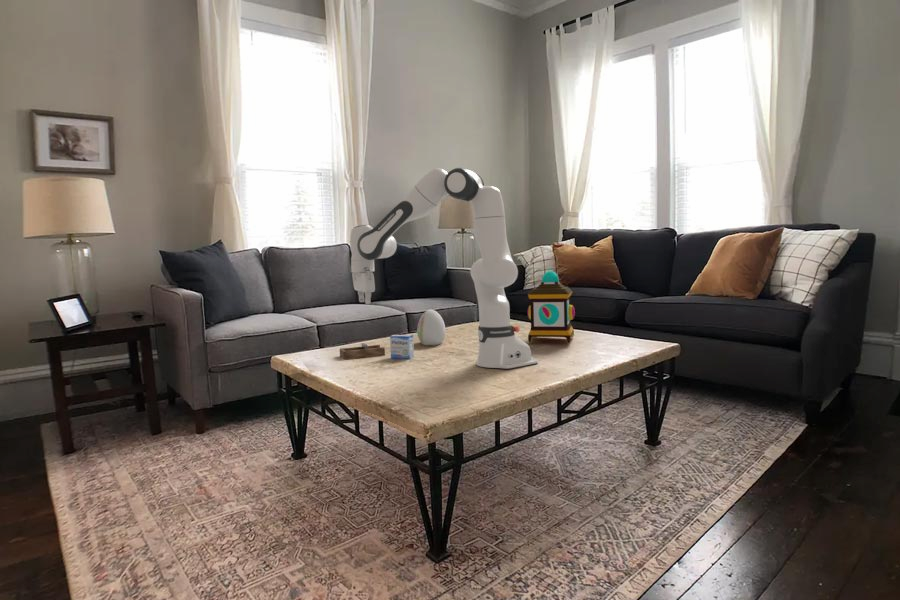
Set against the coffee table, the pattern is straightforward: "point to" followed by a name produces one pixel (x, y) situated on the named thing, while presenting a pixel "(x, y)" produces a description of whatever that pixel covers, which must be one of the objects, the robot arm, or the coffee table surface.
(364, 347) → the pusher
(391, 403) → the coffee table surface
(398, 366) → the coffee table surface
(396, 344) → the medicine box
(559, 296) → the decorative lantern
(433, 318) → the decorative egg
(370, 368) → the coffee table surface
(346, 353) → the wooden tray
